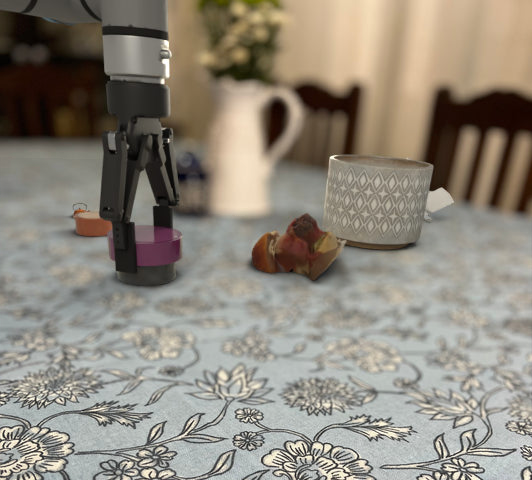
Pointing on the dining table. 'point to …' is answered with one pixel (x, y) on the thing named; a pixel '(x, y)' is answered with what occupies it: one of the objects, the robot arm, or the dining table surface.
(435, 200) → the figurine
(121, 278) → the dark gray disc
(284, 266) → the reddish lumpy part
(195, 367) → the dining table surface
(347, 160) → the planter
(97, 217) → the terracotta dish
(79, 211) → the teapot
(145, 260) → the purple disc
